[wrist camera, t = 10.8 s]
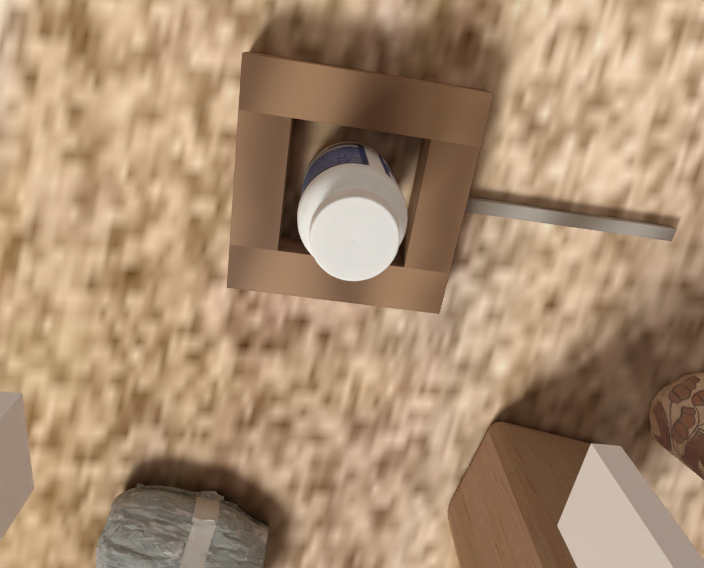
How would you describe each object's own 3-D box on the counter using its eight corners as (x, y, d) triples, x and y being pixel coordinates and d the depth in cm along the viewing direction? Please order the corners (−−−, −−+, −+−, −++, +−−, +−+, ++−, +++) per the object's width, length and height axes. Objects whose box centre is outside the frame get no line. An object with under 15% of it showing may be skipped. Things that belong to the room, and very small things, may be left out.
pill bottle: (289, 207, 33) (274, 269, 24) (325, 124, 31) (323, 158, 22) (369, 241, 34) (382, 313, 25) (408, 163, 32) (438, 212, 23)
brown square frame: (233, 271, 34) (226, 287, 32) (249, 51, 29) (242, 52, 27) (631, 321, 37) (651, 339, 35) (711, 127, 32) (741, 134, 29)
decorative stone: (104, 551, 45) (72, 622, 39) (128, 460, 41) (96, 525, 35) (257, 584, 47) (247, 656, 41) (293, 501, 43) (287, 568, 38)
